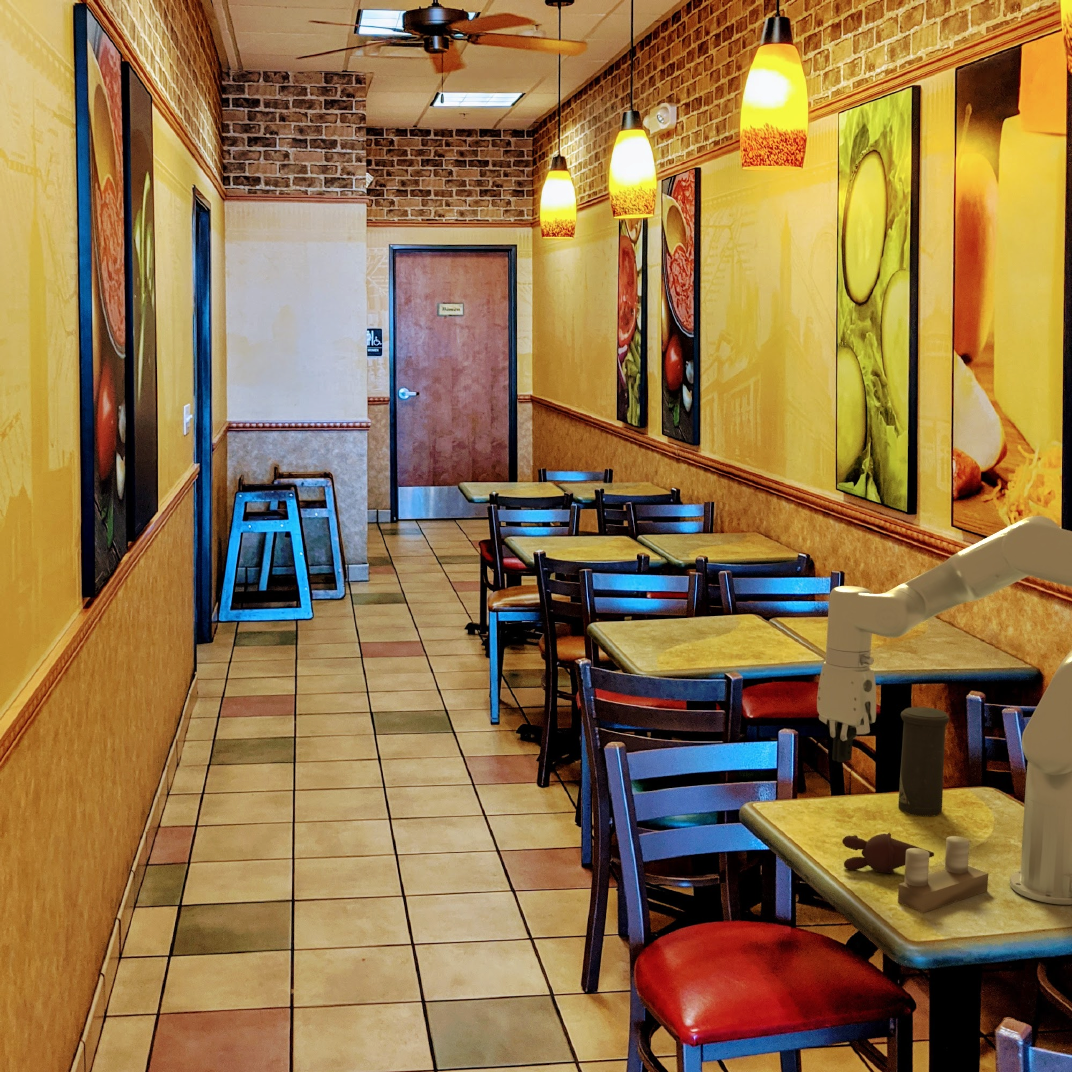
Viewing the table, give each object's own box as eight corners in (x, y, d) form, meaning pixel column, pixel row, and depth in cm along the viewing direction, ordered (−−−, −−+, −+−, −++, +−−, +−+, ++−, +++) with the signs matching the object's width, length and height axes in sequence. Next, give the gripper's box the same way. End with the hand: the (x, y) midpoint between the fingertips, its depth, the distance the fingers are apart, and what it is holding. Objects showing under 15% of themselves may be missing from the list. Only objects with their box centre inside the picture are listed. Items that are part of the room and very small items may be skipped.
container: (919, 799, 259) (924, 701, 256) (953, 813, 251) (959, 712, 249) (886, 806, 255) (891, 706, 252) (921, 820, 247) (926, 717, 244)
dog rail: (987, 890, 213) (990, 844, 212) (923, 912, 204) (925, 863, 203) (957, 879, 218) (960, 833, 217) (893, 900, 209) (896, 852, 208)
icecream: (931, 830, 223) (842, 830, 227) (934, 834, 216) (841, 834, 219) (934, 872, 222) (844, 871, 226) (936, 877, 215) (843, 876, 218)
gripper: (896, 664, 222) (889, 768, 224) (830, 647, 234) (824, 746, 237) (866, 669, 218) (859, 775, 220) (801, 651, 230) (795, 752, 232)
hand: (841, 759), depth 228 cm, fingers closed
